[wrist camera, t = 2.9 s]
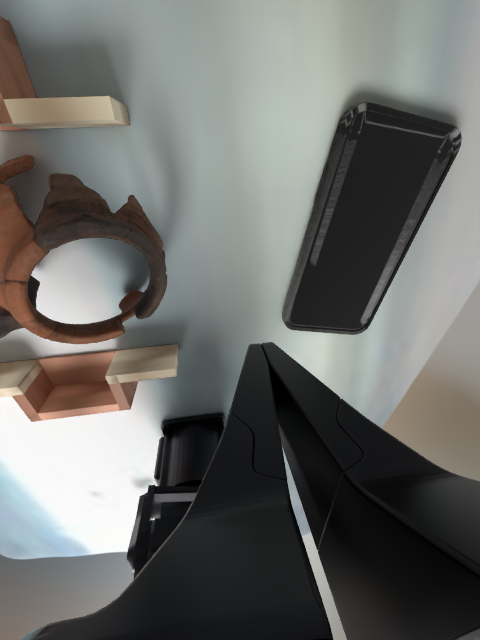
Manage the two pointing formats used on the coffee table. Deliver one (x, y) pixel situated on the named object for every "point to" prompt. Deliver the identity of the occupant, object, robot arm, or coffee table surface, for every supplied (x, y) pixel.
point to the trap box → (85, 369)
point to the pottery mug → (57, 229)
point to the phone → (366, 215)
